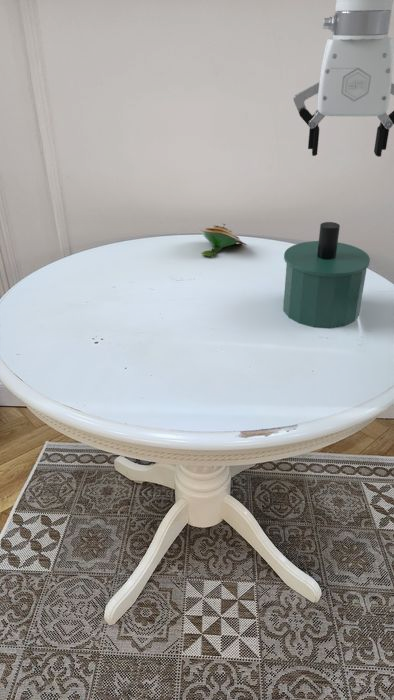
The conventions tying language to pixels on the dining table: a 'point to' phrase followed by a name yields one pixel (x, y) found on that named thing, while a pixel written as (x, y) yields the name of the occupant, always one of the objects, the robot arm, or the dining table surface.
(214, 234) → the green brown turtle figurine
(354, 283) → the pot
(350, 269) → the lid
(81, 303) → the dining table surface
